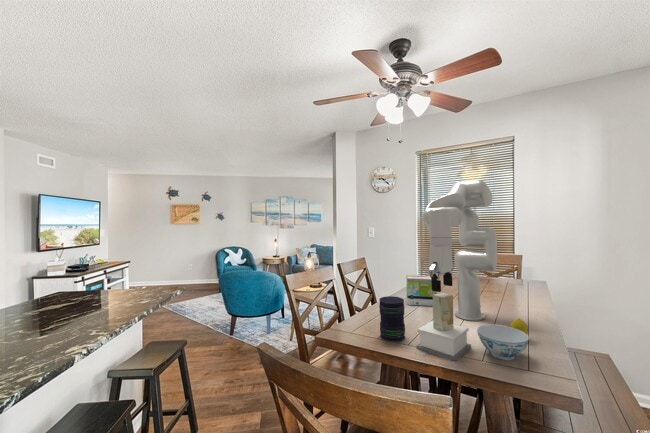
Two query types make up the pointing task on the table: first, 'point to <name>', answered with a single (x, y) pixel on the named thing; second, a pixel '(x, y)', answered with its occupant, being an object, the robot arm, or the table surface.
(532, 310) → the table surface
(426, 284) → the tea box
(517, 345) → the chinaware
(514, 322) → the lemon
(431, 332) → the display podium
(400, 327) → the dark blue barrel
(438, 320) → the skincare box
